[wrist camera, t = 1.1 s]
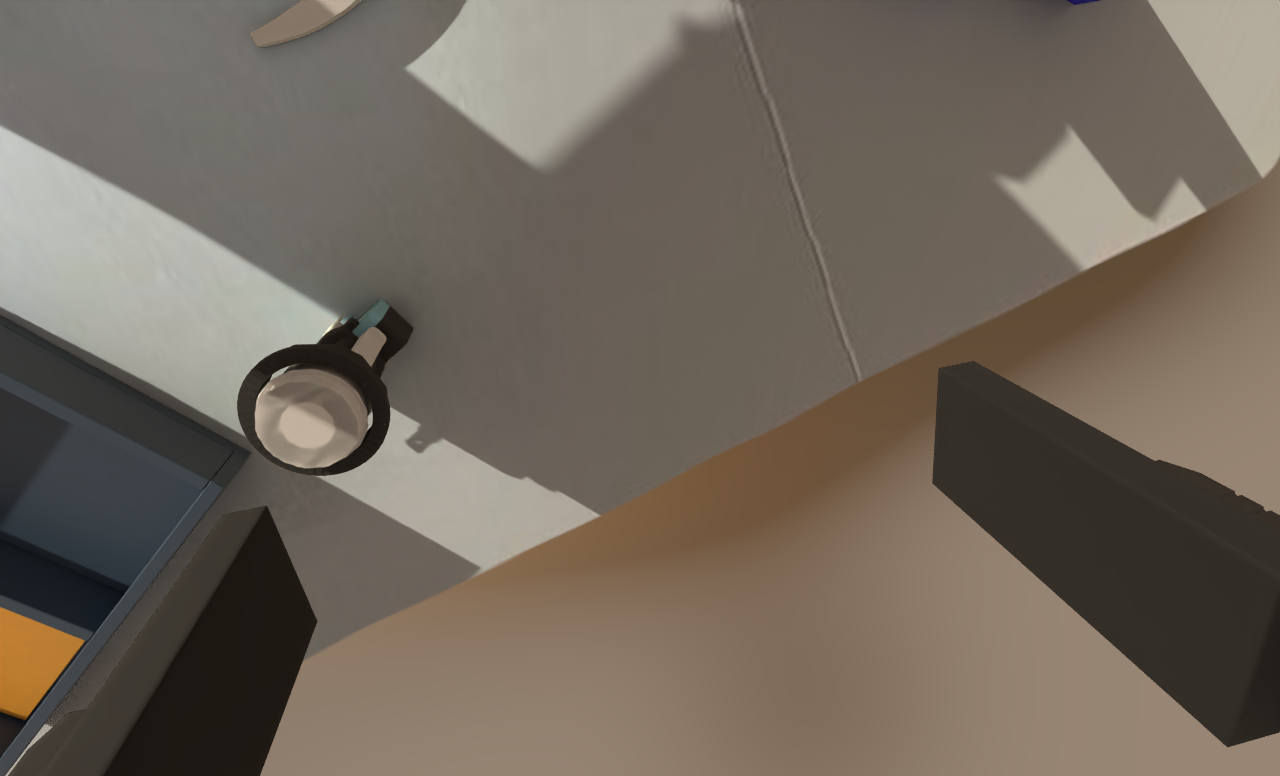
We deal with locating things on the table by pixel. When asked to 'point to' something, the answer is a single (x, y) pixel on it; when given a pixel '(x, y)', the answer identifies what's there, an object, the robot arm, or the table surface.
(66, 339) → the table surface
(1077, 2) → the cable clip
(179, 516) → the parts tray
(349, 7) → the pliers
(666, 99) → the table surface
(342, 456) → the push button
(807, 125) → the table surface
